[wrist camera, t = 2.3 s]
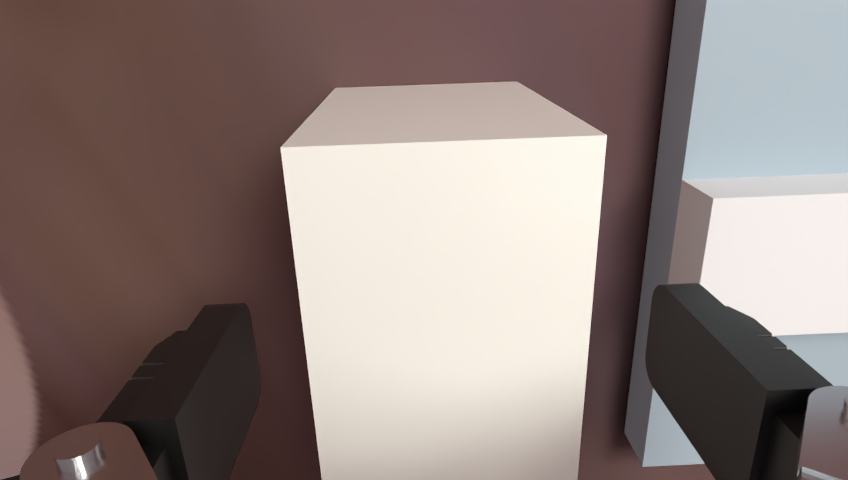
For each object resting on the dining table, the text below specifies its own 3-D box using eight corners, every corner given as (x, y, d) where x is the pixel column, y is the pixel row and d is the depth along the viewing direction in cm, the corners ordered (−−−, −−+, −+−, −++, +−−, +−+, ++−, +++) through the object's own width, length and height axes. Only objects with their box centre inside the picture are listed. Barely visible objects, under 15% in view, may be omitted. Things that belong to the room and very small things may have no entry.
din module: (335, 88, 14) (280, 147, 8) (516, 81, 14) (606, 135, 8) (358, 363, 17) (332, 568, 11) (509, 356, 17) (570, 556, 11)
